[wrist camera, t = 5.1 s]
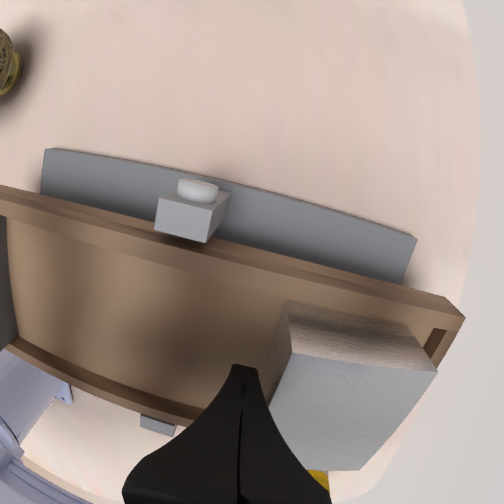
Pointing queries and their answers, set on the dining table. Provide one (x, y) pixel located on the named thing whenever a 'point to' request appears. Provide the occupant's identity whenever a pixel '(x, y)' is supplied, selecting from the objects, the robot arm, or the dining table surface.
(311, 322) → the block
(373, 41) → the dining table surface
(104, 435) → the dining table surface
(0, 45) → the cup
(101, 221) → the seesaw beam
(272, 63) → the dining table surface
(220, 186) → the stand
